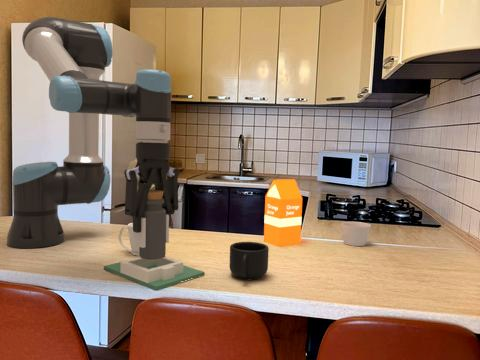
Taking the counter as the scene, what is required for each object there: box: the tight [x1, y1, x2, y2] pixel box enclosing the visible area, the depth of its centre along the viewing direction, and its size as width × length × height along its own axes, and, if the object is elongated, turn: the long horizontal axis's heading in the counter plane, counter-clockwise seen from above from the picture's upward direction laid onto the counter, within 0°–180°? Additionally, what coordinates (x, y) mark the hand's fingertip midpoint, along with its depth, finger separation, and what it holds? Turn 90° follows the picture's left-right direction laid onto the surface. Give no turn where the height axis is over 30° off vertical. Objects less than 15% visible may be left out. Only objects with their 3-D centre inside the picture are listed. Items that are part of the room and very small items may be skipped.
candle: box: [341, 221, 372, 247], centre depth 133 cm, size 9×9×6 cm
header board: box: [103, 256, 205, 291], centre depth 99 cm, size 20×14×3 cm
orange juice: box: [263, 178, 303, 248], centre depth 131 cm, size 8×9×20 cm
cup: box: [118, 222, 140, 256], centre depth 115 cm, size 7×10×8 cm
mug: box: [229, 241, 270, 280], centre depth 97 cm, size 12×9×7 cm
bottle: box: [138, 189, 167, 260], centre depth 95 cm, size 6×6×15 cm
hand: (152, 243), depth 95 cm, fingers closed on bottle, 6 cm apart
